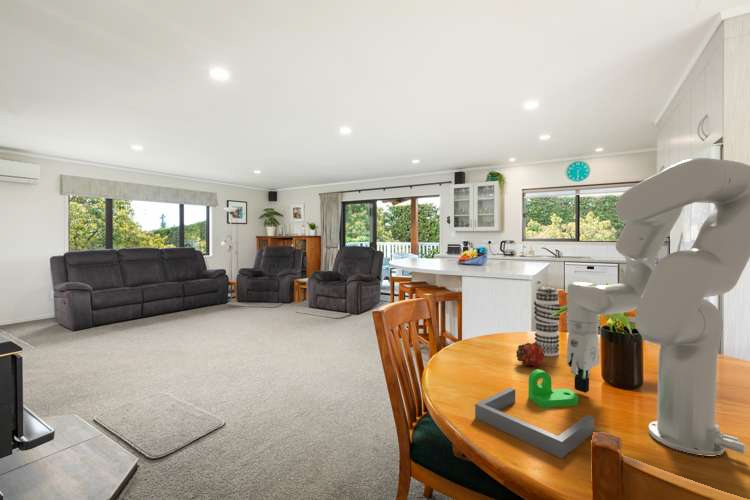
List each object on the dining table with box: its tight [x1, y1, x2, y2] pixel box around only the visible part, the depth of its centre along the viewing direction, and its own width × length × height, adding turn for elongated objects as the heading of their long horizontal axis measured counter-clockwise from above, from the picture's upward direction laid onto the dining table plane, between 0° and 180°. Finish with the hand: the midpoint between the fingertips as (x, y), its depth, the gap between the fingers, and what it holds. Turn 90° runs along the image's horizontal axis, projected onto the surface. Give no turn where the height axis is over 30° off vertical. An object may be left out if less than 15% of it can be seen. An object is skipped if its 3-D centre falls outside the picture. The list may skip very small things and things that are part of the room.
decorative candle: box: [533, 286, 561, 357], centre depth 137 cm, size 9×9×25 cm
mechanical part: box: [528, 369, 579, 409], centre depth 97 cm, size 12×6×8 cm, turn 97°
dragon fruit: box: [516, 342, 546, 367], centre depth 124 cm, size 8×8×12 cm
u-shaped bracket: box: [474, 387, 595, 459], centre depth 85 cm, size 21×16×4 cm
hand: (581, 390), depth 101 cm, fingers closed
